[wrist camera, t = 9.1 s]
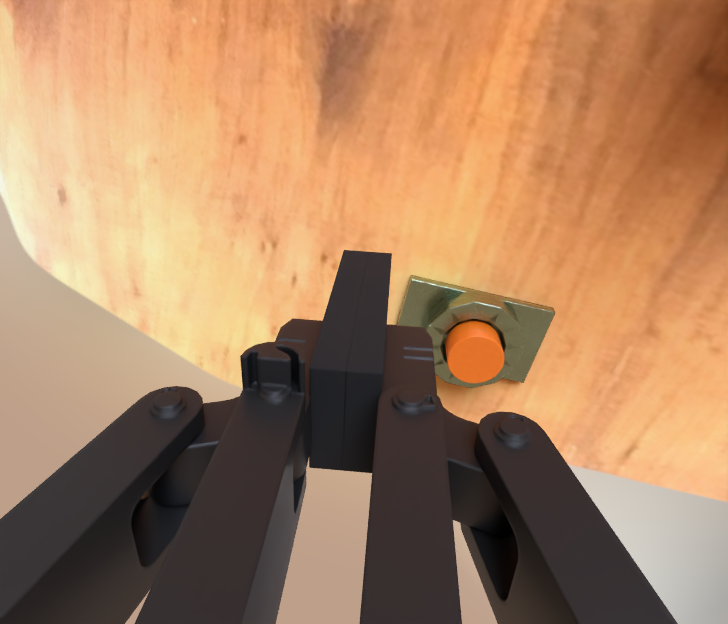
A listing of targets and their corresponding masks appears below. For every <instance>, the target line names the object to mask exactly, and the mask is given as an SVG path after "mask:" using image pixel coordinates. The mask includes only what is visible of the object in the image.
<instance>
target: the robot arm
mask: <svg viewBox="0 0 728 624" xmlns="http://www.w3.org/2000/svg"><path fill="white" fill-rule="evenodd" d="M391 256H392V254H391V253H377V252H362V251H348V250H344V252H343V255H342V259H341V262H340V265H339V269H338V272H337V275H336V279H335V282H334V285H333V289H332V292H331V296H330V299H329V302H328V306H327V309H326V312H325V316H324V319H323V321H317V320H304V319H292V320H290V321H289V322H288V323H286V324H285V325H284V326H282V327H281V329H280V331H279V333H278V336H277V338H276V340H275V342H266V343H262V344H258V345H255V346H253V347H251V348H249V349H247V350H246V351H245V352H244V353H243V354H242V355H241V356H240V357H241V369H242V382H243V391H242V393H241V395H240V396H239V397H237V398H234V399H231V400H226V401H219V402H211V403H204V404H203V401H202V397H201V396H200V395H199V393H198V392H197V391H195V390H192V389H190V388H187V387H178V386H174V387H166V388H161V389H158V390H155V391H153V392H150V393H148V394H147V395H145V396H144V397H142V398H141V399H140V400H138V401H137V402H136V403H135V404H134V405H132V406H131V407H130V408H129V409H128V410H127V411H125V412H124V413H123V414H122V415H121V416H120V417H119V418H117V419H116V420H115V421H114V422H113V423H112V424H110V425H109V426H108V427H107V428H106V429H105V430H103V431H102V432H101V433H100V434H99V435H98V436H96V438H94V439H93V440H92V441H91V442H89V443H88V444H87V445H86V446H85V447H84V448H83V449H81V450H80V451H79V452H78V453H77V454H75V455H74V456H73V457H72V458H71V459H70V460H69V461H67V462H66V463H65V464H64V465H63V466H62V467H60V468H59V469H58V470H57V471H56V472H55V473H53V474H52V475H51V476H50V477H49V478H48V479H46V480H45V481H44V482H43V483H42V484H41V485H39V486H38V487H37V488H36V489H35V490H34V491H32V492H31V493H30V494H29V495H28V496H27V497H25V498H24V499H23V500H22V501H21V502H20V503H19V504H17V505H16V506H15V507H14V508H13V509H12V510H10V511H9V512H8V513H7V514H6V515H5V516H3V517H2V518H1V519H0V624H125V622H126V621H127V620H128V619H129V617H130V616H131V614H132V613H133V612H134V610H135V609H136V608H137V606H138V605H139V604H140V602H141V601H142V600H143V598H144V597H145V596H146V594H147V593H148V591H149V590H150V592H149V594H148V596H147V598H146V600H145V602H144V605H143V607H142V609H141V611H140V613H139V615H138V617H137V620H136V622H135V624H275V623H276V619H277V614H278V610H279V605H280V601H281V597H282V592H283V588H284V583H285V578H286V574H287V570H288V565H289V561H290V556H291V551H292V547H293V542H294V538H295V534H296V529H297V525H298V520H299V516H300V511H301V506H302V502H303V498H304V493H305V488H306V467H307V462H308V458H309V462H310V463H309V467H310V468H322V469H333V470H344V471H356V472H367V473H372V484H371V496H370V508H369V519H368V531H367V543H366V555H365V567H364V578H363V590H362V603H361V614H360V624H462V620H461V609H460V597H459V586H458V575H457V565H456V553H455V542H454V531H453V520H455V521H458V522H460V523H461V530H462V533H463V535H464V538H465V540H466V543H467V546H468V548H469V551H470V553H471V556H472V558H473V561H474V564H475V566H476V569H477V571H478V574H479V576H480V579H481V582H482V584H483V587H484V589H485V592H486V594H487V597H488V600H489V602H490V605H491V607H492V609H493V612H494V615H495V618H496V620H497V623H498V624H677V622H676V621H675V619H674V618H673V616H672V615H671V614H670V612H669V611H668V609H667V608H666V606H665V605H664V604H663V602H662V600H661V599H660V598H659V596H658V595H657V593H656V592H655V590H654V589H653V587H652V586H651V585H650V583H649V582H648V580H647V579H646V577H645V576H644V574H643V573H642V572H641V570H640V569H639V567H638V566H637V564H636V563H635V562H634V560H633V559H632V557H631V556H630V554H629V553H628V551H627V550H626V548H625V547H624V545H623V544H622V543H621V541H620V540H619V538H618V537H617V536H616V534H615V532H614V531H613V530H612V528H611V527H610V525H609V524H608V522H607V521H606V520H605V518H604V517H603V515H602V514H601V512H600V511H599V509H598V508H597V506H596V505H595V504H594V502H593V501H592V499H591V498H590V497H589V495H588V493H587V492H586V491H585V489H584V488H583V486H582V485H581V483H580V482H579V480H578V479H577V478H576V476H575V475H574V473H573V472H572V470H571V469H570V467H569V466H568V465H567V463H566V462H565V460H564V459H563V457H562V456H561V454H560V453H559V451H558V450H557V449H556V447H555V446H554V444H553V443H552V441H551V440H550V438H549V437H548V436H547V434H546V433H545V431H544V430H543V429H542V428H541V427H540V426H539V425H538V424H537V423H536V422H534V421H532V420H531V419H529V418H527V417H525V416H522V415H519V414H516V413H512V412H496V413H491V414H488V415H486V416H485V417H484V418H482V419H481V421H480V423H479V424H477V423H474V422H471V421H467V420H464V419H462V418H459V417H457V416H455V415H453V414H452V413H450V412H448V411H447V410H446V409H445V408H444V407H443V406H442V403H441V401H440V398H439V397H438V396H437V390H436V378H435V366H434V354H433V341H432V337H431V336H430V335H429V333H428V332H427V331H426V330H425V328H424V327H413V326H400V325H387V311H388V297H389V283H390V270H391Z"/></svg>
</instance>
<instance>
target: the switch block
mask: <svg viewBox="0 0 728 624" xmlns="http://www.w3.org/2000/svg"><path fill="white" fill-rule="evenodd" d="M554 314H555V311H554V309H553V308H551V307H546V306H542V305H538V304H533V303H529V302H525V301H520V300H516V299H512V298H508V297H503V296H499V295H495V294H490V293H486V292H482V291H477V290H473V289H469V288H464V287H460V286H456V285H451V284H447V283H443V282H438V281H434V280H430V279H426V278H421V277H417V276H413V275H411V277H410V281H409V284H408V288H407V291H406V295H405V298H404V302H403V305H402V309H401V312H400V315H399V319H398V322H397V325H400V326H413V327H424V328H425V330H426V331H427V332H428V333H429V335H430V336H431V337H432V341H433V354H434V366H435V374H437V375H438V376H439V377H440V378H441V379H443V380H444V381H445V382H447V383H451V384H455V385H460V386H464V387H469V388H473V387H478V386H483V385H487V384H492V383H495V382H497V381H498V380H500V379H501V378H504V379H509V380H513V381H517V382H522V383H524V381H525V378H526V376H527V374H528V372H529V370H530V367H531V365H532V363H533V361H534V359H535V356H536V354H537V352H538V350H539V348H540V345H541V343H542V341H543V339H544V337H545V334H546V332H547V330H548V328H549V325H550V323H551V321H552V319H553V317H554ZM467 321H481V322H484V323H486V324H488V325H490V326H491V327H493V328H494V329H495V330H496V332H497V334H498V336H499V339H500V342H501V345H502V349H503V352H504V356H505V360H504V365H503V367H502V369H501V371H500V372H499V373H498V374H497V375H496V376H495V377H493V378H492V379H490V380H488V381H485V382H482V383H467V382H464V381H461V380H459V379H458V378H456V377H455V376H454V375H453V374H452V373H451V371H450V370H449V367H448V363H447V356H446V348H445V342H446V338H447V336H448V334H449V333H450V331H451V330H452V329H453V328H454V327H456V326H457V325H459V324H461V323H464V322H467Z"/></svg>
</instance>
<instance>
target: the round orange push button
mask: <svg viewBox="0 0 728 624" xmlns="http://www.w3.org/2000/svg"><path fill="white" fill-rule="evenodd" d="M445 348H446V356H447V363H448V367H449V370H450V371H451V373H452V374H453V375H454V376H455V377H456V378H458V379H459V380H461V381H464V382H467V383H482V382H485V381H488V380H490V379H492V378H493V377H495V376H496V375H497V374H498V373H499V372H500V371H501V369H502V367H503V365H504V360H505V356H504V352H503V349H502V345H501V342H500V339H499V336H498V334H497V332H496V330H495V329H494V328H493V327H491V326H490V325H488V324H486V323H484V322H481V321H467V322H464V323H461V324H459V325H457V326H456V327H454V328H453V329H452V330H451V331H450V333H449V334H448V336H447V338H446V342H445Z"/></svg>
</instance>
